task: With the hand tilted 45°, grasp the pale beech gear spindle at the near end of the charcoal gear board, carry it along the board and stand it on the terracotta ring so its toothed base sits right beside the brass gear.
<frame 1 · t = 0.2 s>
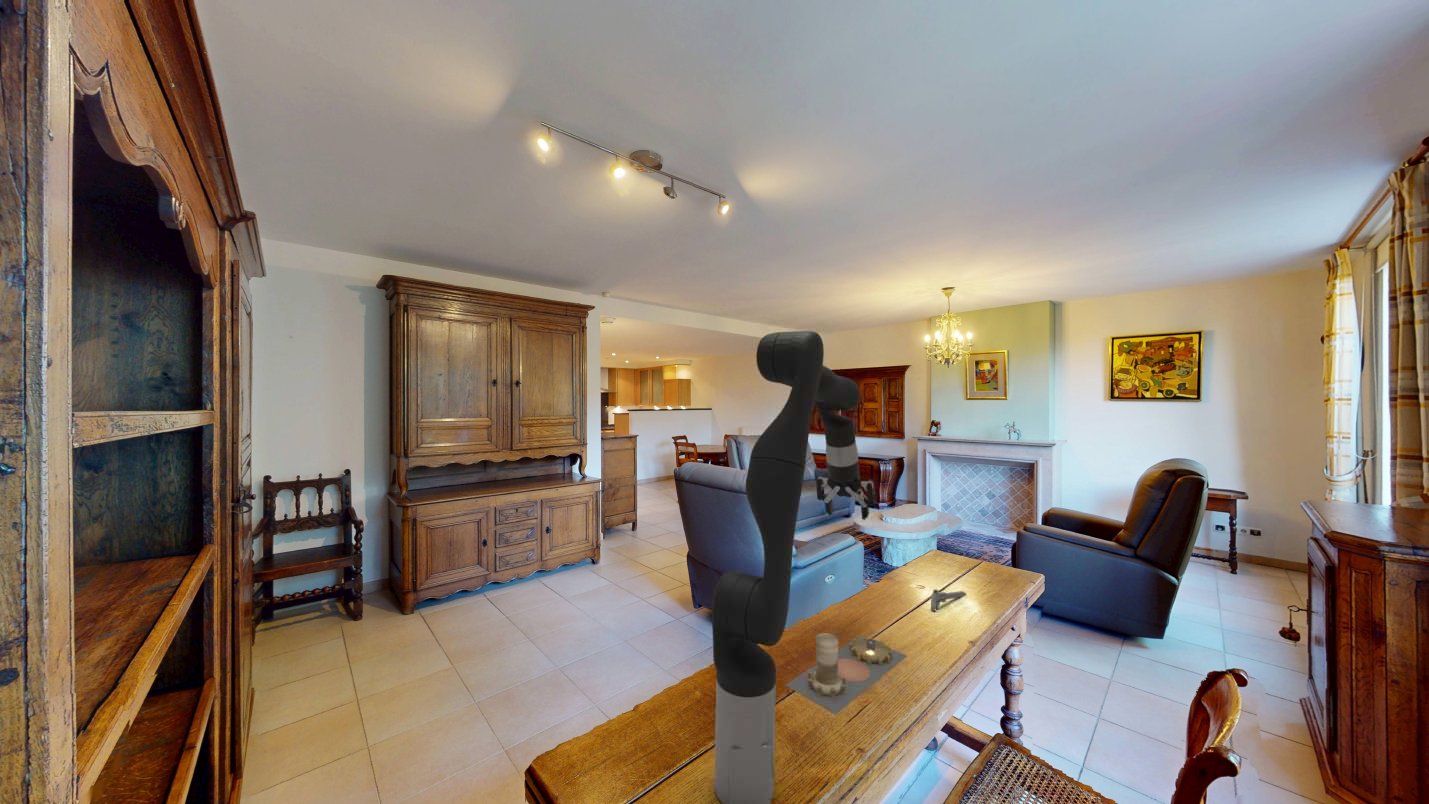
hand: (847, 515, 121), 31 cm above the table, tool tilted 20°, fingers open, 8 cm apart
caliper: (949, 604, 142), on the table
gear board: (849, 676, 104), on the table
beech gear spindle: (826, 686, 97), point 1 cm above the table, touching gear board
brass gear: (870, 654, 110), resting on gear board
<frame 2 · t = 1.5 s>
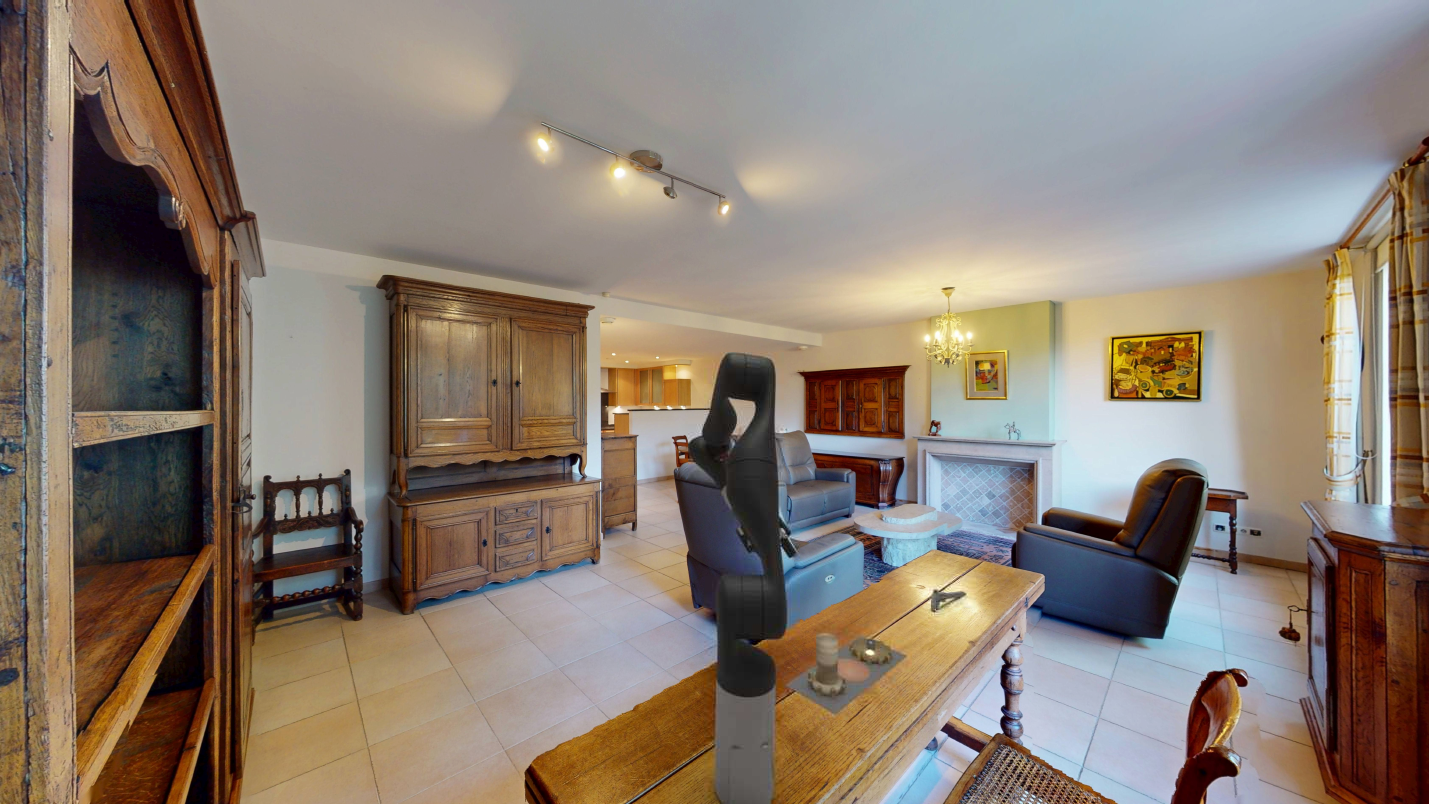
hand: (782, 560, 105), 25 cm above the table, tool tilted 45°, fingers open, 8 cm apart
nothing on the table moved.
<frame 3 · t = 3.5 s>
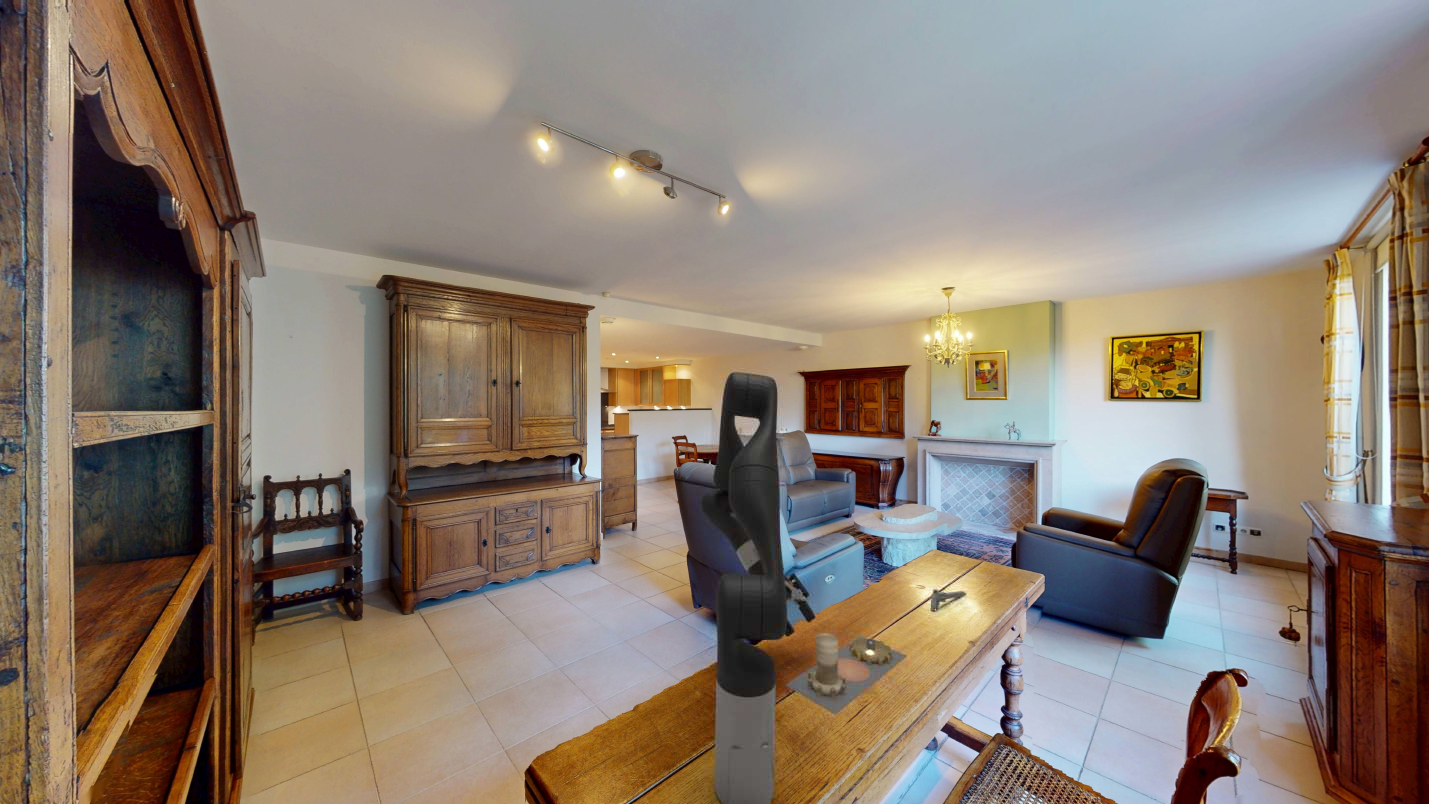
hand: (802, 627, 101), 12 cm above the table, tool tilted 45°, fingers open, 8 cm apart
nothing on the table moved.
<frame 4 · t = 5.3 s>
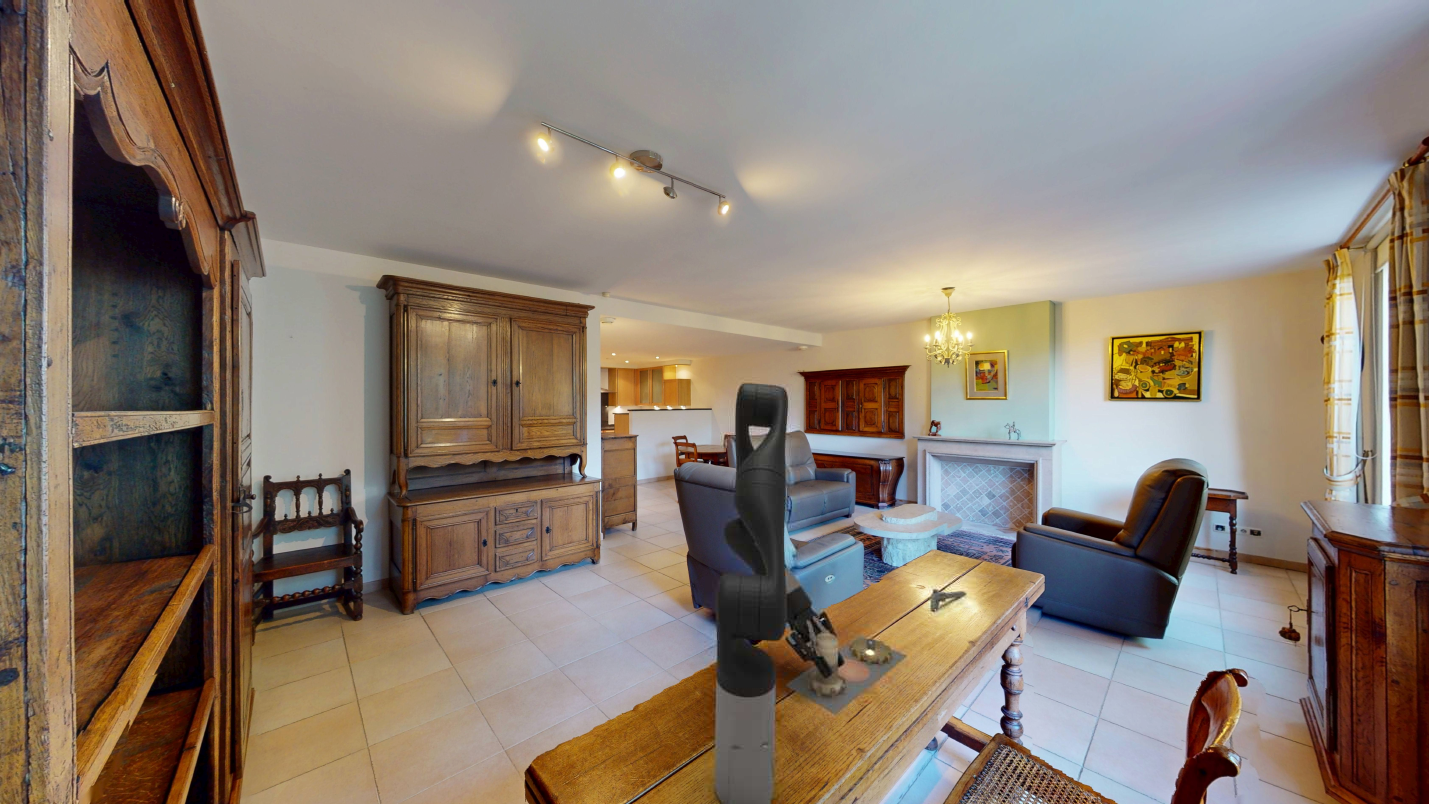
hand: (835, 670, 96), 6 cm above the table, tool tilted 45°, fingers closed on beech gear spindle, 4 cm apart
beech gear spindle: (826, 686, 97), point 1 cm above the table, touching gear board, gripper
everything else where it was.
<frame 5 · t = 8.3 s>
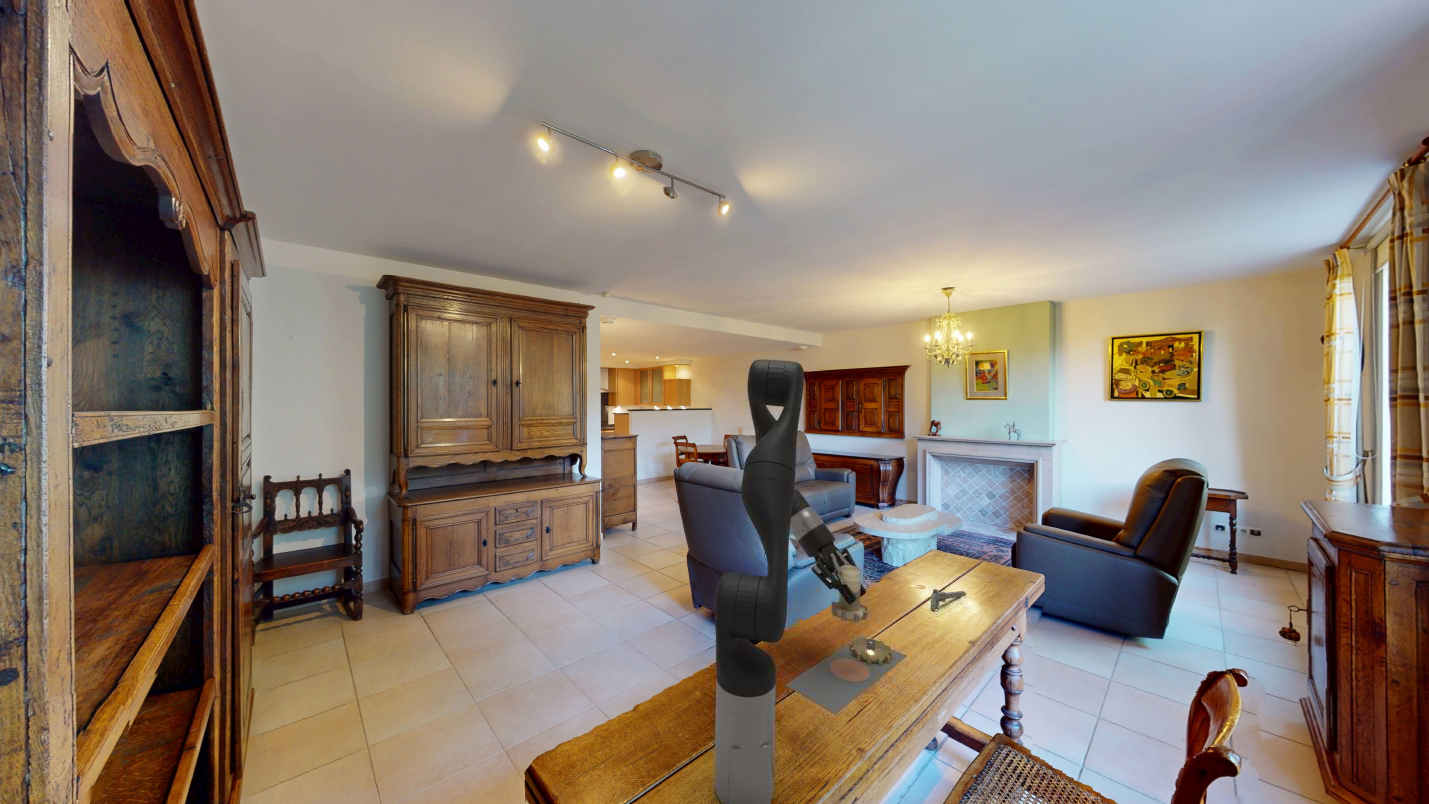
hand: (858, 598, 102), 18 cm above the table, tool tilted 45°, fingers closed on beech gear spindle, 4 cm apart
beech gear spindle: (849, 614, 103), point 14 cm above the table, touching gripper
everything else where it was.
when the fingers open (7 cm above the table, at t = 11.2 s): beech gear spindle drops 1 cm, resting on gear board.
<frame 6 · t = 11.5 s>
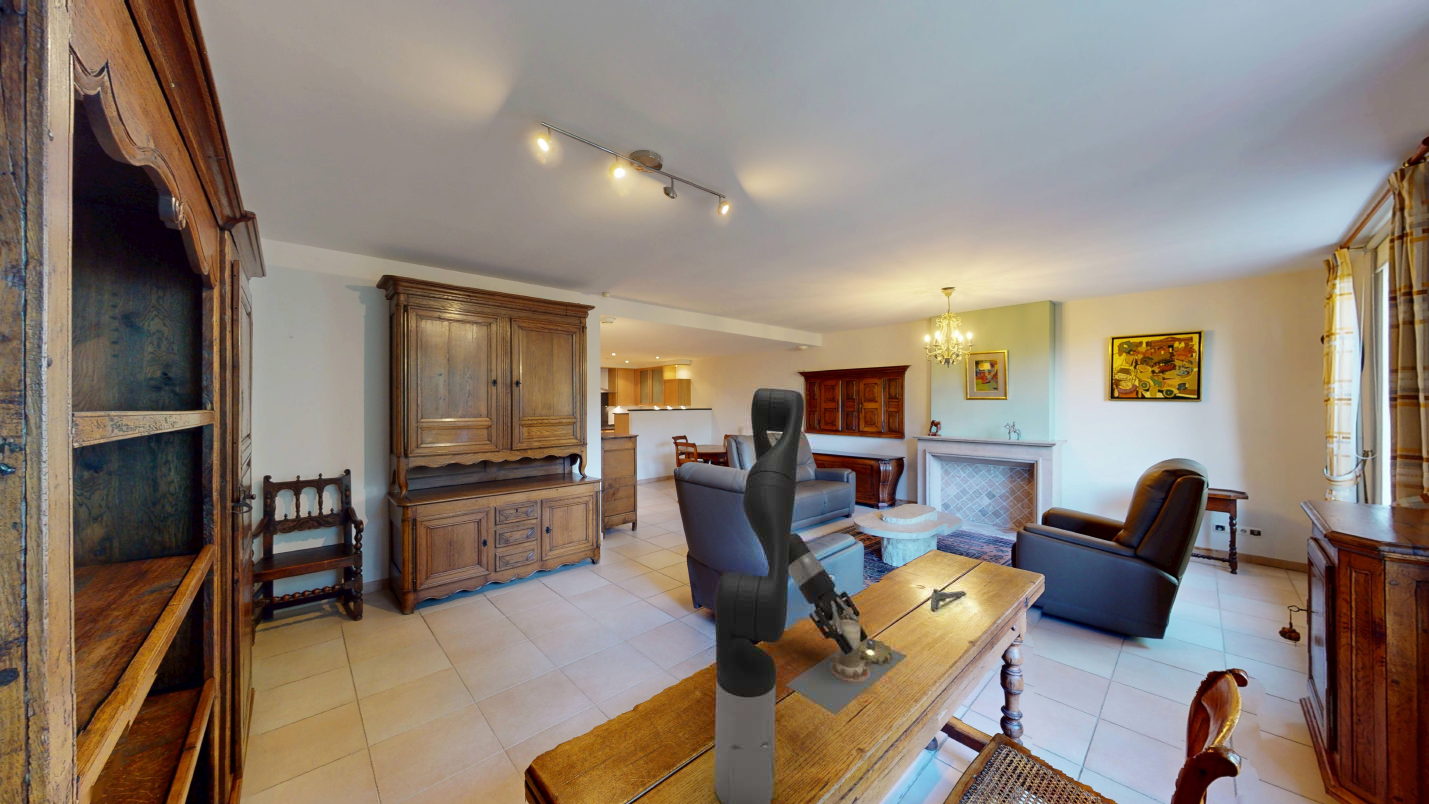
hand: (857, 645, 102), 7 cm above the table, tool tilted 45°, fingers open, 6 cm apart
beech gear spindle: (848, 669, 103), point 2 cm above the table, touching gear board
everything else where it was.
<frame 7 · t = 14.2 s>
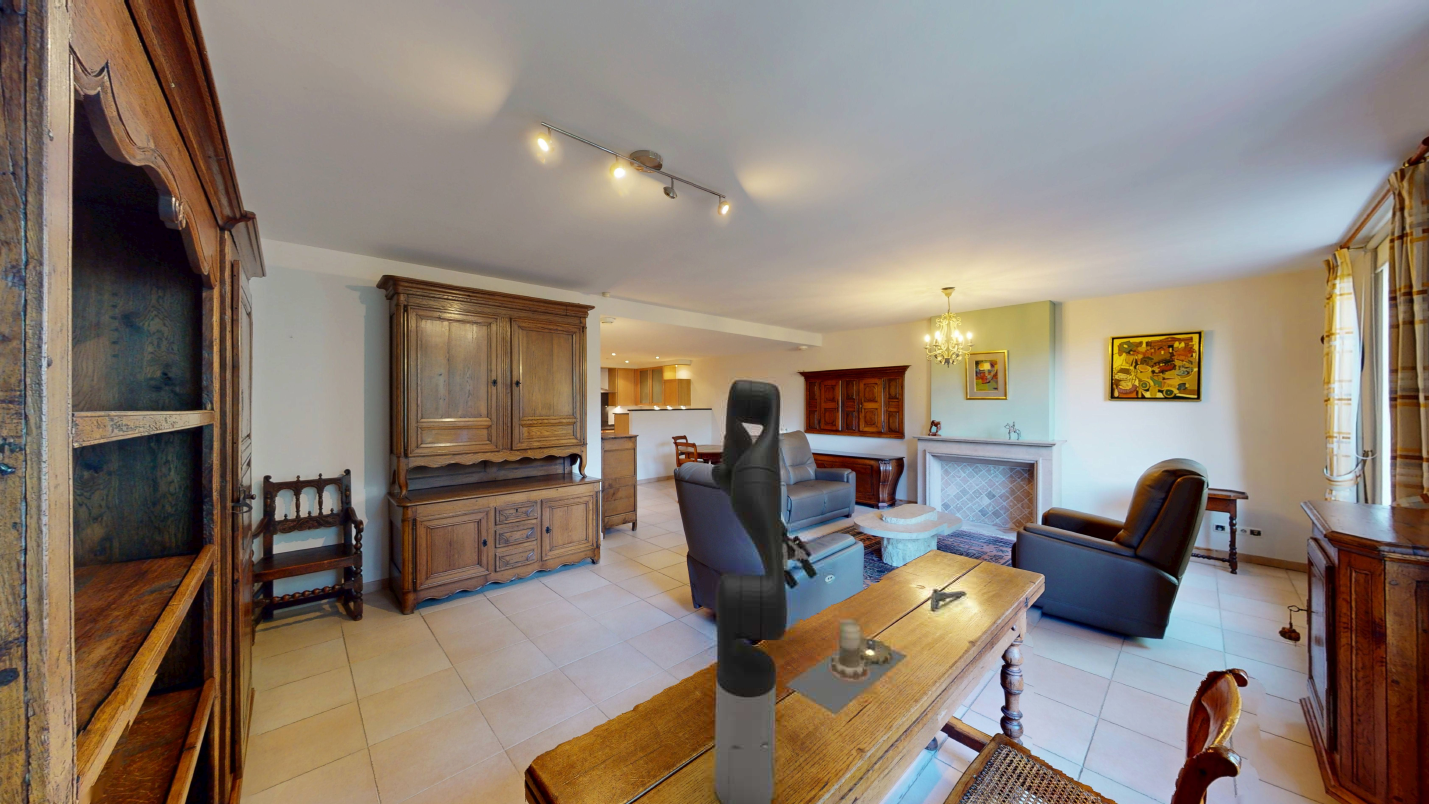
hand: (804, 581, 111), 18 cm above the table, tool tilted 45°, fingers open, 8 cm apart
nothing on the table moved.
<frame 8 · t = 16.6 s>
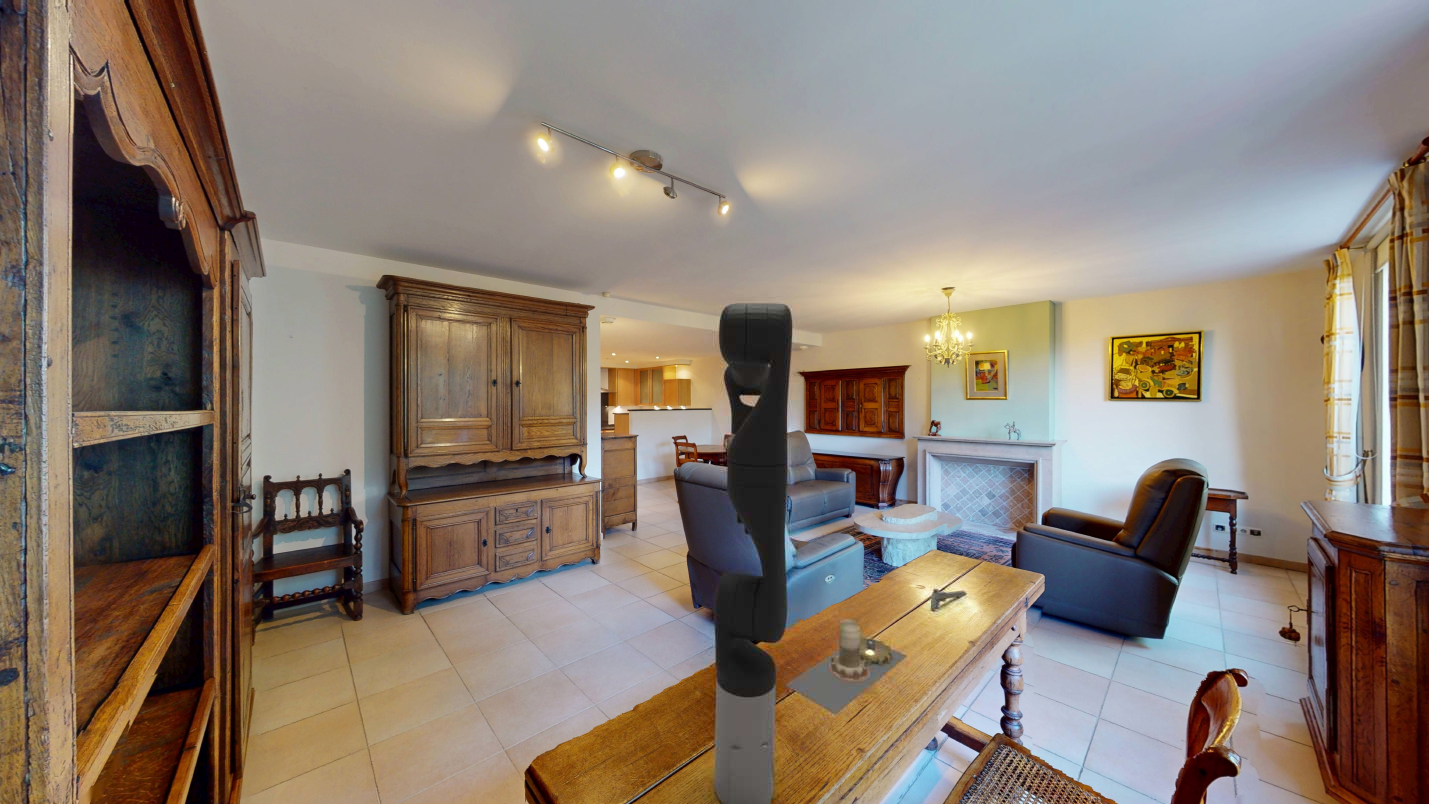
hand: (745, 528, 104), 32 cm above the table, tool pointing down, fingers open, 8 cm apart
nothing on the table moved.
at the end: beech gear spindle 0.2 cm off-centre on the gear board, point 1.5 cm above the gear board's base; beech gear spindle tilted 0°; the gripper is holding nothing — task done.
